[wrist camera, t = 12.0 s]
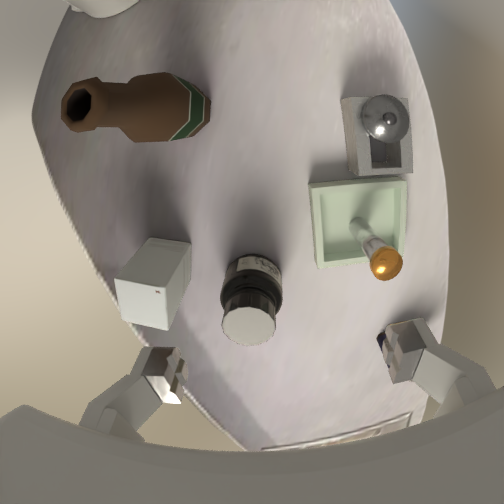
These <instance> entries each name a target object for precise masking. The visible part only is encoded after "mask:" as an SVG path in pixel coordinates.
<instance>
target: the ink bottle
mask: <svg viewBox="0 0 504 504" xmlns="http://www.w3.org/2000/svg"><path fill="white" fill-rule="evenodd" d="M282 300H283V297H282V279H281V274H280V271H279V269H278V267H277V266H276V265H275V264H274V263H273V262H272V261H271V260H269V259H268V258H266V257H264V256H261V255H256V254H248V255H244V256H241V257H239V258H237V259H236V260H235V261H233V262H232V263H231V265H230V266H229V267H228V269H227V272H226V275H225V279H224V282H223V286H222V290H221V295H220V301H221V305H222V307H223V309H224V316H223V320H222V328H223V332H224V334H226V336H227V337H228V338H229V339H230V340H232V341H234V342H236V343H237V344H242V345H246V346H251V345H259V344H262V343H264V342H267V341H268V340H269V339H270V338H271V337H272V336H273V334H274V331H275V330H276V316H275V315H276V314H277V313H278V312H279V310H280V308H281V305H282Z"/></svg>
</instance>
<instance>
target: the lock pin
mask: <svg viewBox="0 0 504 504" xmlns="http://www.w3.org/2000/svg"><path fill="white" fill-rule="evenodd" d="M349 231H350V232H351V234H352V235H353V237H354V238H355V240H356V241H357V243H358V244H359V246H360V247H361V249H362V250H363V252H364V253H365V255H366V256H367V258H368V260H369V261H370V269H371V271H372V272H373V274H374V276H375V277H376V278H377V279H379V280H382V281H386V280H390V279H392V278H394V277H395V276H396V275H397V274H398V273H399V272H400V270H401V268H402V264H403V260H402V257H401V255H400V254H399V253H398V252H397V250H396V249H395V248H393V247H391V246H388V245H387V244H386V243H385V241H384V240H383V239H382V238H381V237H380V236H379V234H378V233H377V232H376V231H375V230H374V229H373V228H372V227H371V225H370V224H369V223H368V222H367V221H366V220H365V219H364V218H363V217H355V218H353V219H352V220H351V221H350V223H349Z"/></svg>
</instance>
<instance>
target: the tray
mask: <svg viewBox="0 0 504 504" xmlns="http://www.w3.org/2000/svg"><path fill="white" fill-rule="evenodd" d="M308 187H309V196H310V206H311V217H312V229H313V242H314V256H315V262H316V265H317V268H318V269H321V268H328V267H336V266H344V265H351V264H358V263H366V262H370V261H369V260H368V258H367V256H366V255H365V253H364V252H363V250H362V249H361V247H360V246H359V244H358V243H357V241H356V240H355V238H354V237H353V235H352V234H351V232H350V231H349V223H350V221H351V220H352V219H353V218H355V217H363V218H364V219H365V220H366V221H367V222H368V223H369V224H370V225H371V227H372V228H373V229H374V230H375V231H376V232H377V233H378V234H379V236H380V237H381V238H382V239H383V240H384V241H385V243H386V244H387V245H388V246H391V247H393V248H395V249H396V250H397V252H398V253H399V254H400V255H401V257H403V254H404V243H405V228H406V204H407V181H406V180H404V179H402V178H400V177H398V176H395V177H378V178H364V179H351V180H340V181H329V182H319V183H310V184H308Z"/></svg>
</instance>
